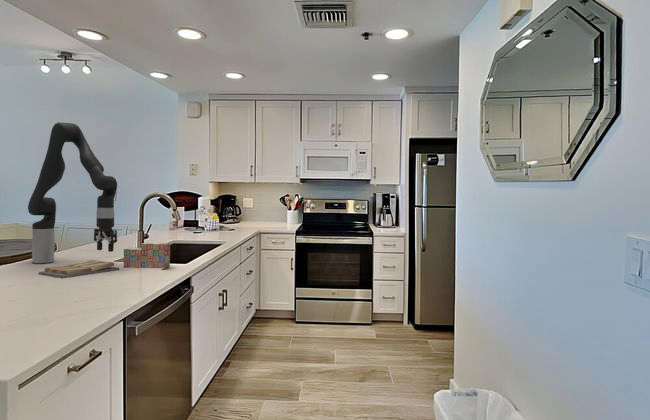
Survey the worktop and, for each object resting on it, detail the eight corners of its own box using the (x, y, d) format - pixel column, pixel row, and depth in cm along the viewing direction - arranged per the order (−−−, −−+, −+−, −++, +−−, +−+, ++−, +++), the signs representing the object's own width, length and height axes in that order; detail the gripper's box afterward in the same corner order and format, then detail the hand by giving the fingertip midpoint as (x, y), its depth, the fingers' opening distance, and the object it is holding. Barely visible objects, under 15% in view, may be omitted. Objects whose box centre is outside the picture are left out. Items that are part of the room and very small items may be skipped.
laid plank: (45, 271, 182) (45, 268, 182) (67, 268, 190) (67, 265, 190) (68, 274, 173) (68, 271, 173) (90, 271, 182) (90, 268, 182)
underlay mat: (38, 274, 180) (38, 272, 180) (95, 266, 203) (95, 264, 203) (62, 278, 171) (62, 275, 171) (119, 269, 194) (119, 267, 194)
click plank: (68, 268, 191) (68, 264, 191) (91, 262, 201) (91, 259, 200) (91, 271, 182) (91, 268, 182) (114, 265, 192) (114, 262, 192)
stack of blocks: (123, 267, 201) (123, 243, 201) (130, 265, 207) (130, 242, 207) (164, 268, 200) (164, 243, 199) (170, 266, 206) (170, 242, 206)
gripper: (88, 216, 193) (88, 250, 193) (107, 218, 186) (107, 252, 187) (103, 216, 200) (103, 249, 200) (122, 217, 193) (121, 251, 193)
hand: (105, 250), depth 193 cm, fingers open, 8 cm apart
